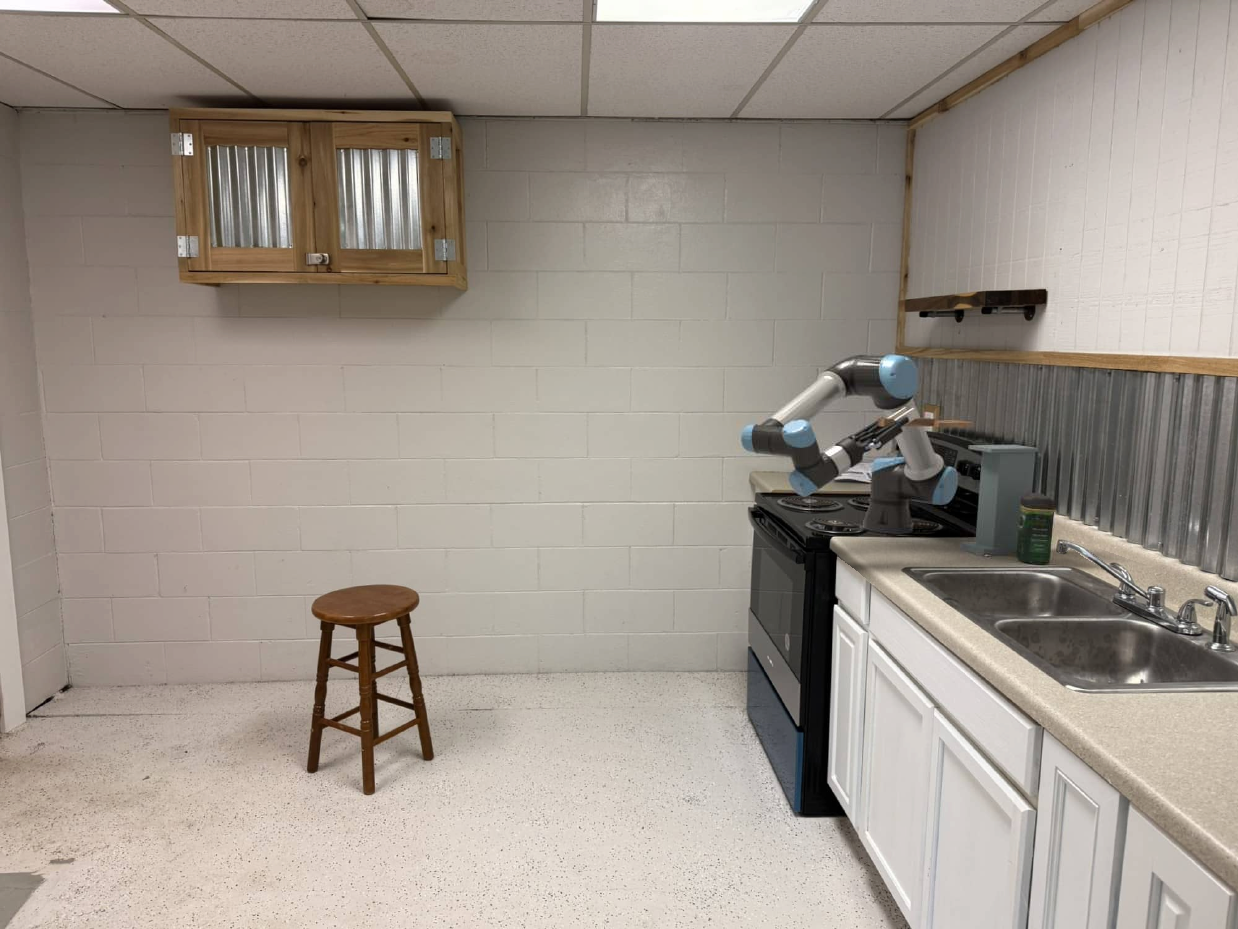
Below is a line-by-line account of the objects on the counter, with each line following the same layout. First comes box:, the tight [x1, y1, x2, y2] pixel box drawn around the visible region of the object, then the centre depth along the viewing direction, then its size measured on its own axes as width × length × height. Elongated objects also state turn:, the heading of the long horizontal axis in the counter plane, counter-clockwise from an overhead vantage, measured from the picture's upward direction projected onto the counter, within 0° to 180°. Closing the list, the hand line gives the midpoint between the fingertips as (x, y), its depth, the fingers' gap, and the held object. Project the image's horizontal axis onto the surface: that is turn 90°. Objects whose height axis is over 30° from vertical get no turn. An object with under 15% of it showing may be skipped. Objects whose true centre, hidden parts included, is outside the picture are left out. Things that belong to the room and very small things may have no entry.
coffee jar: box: [1015, 492, 1056, 565], centre depth 231 cm, size 10×8×19 cm
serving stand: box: [960, 444, 1040, 557], centre depth 241 cm, size 9×16×30 cm, turn 108°
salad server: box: [877, 417, 974, 428], centre depth 230 cm, size 8×26×2 cm, turn 108°
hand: (911, 412), depth 229 cm, fingers closed on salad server, 3 cm apart
